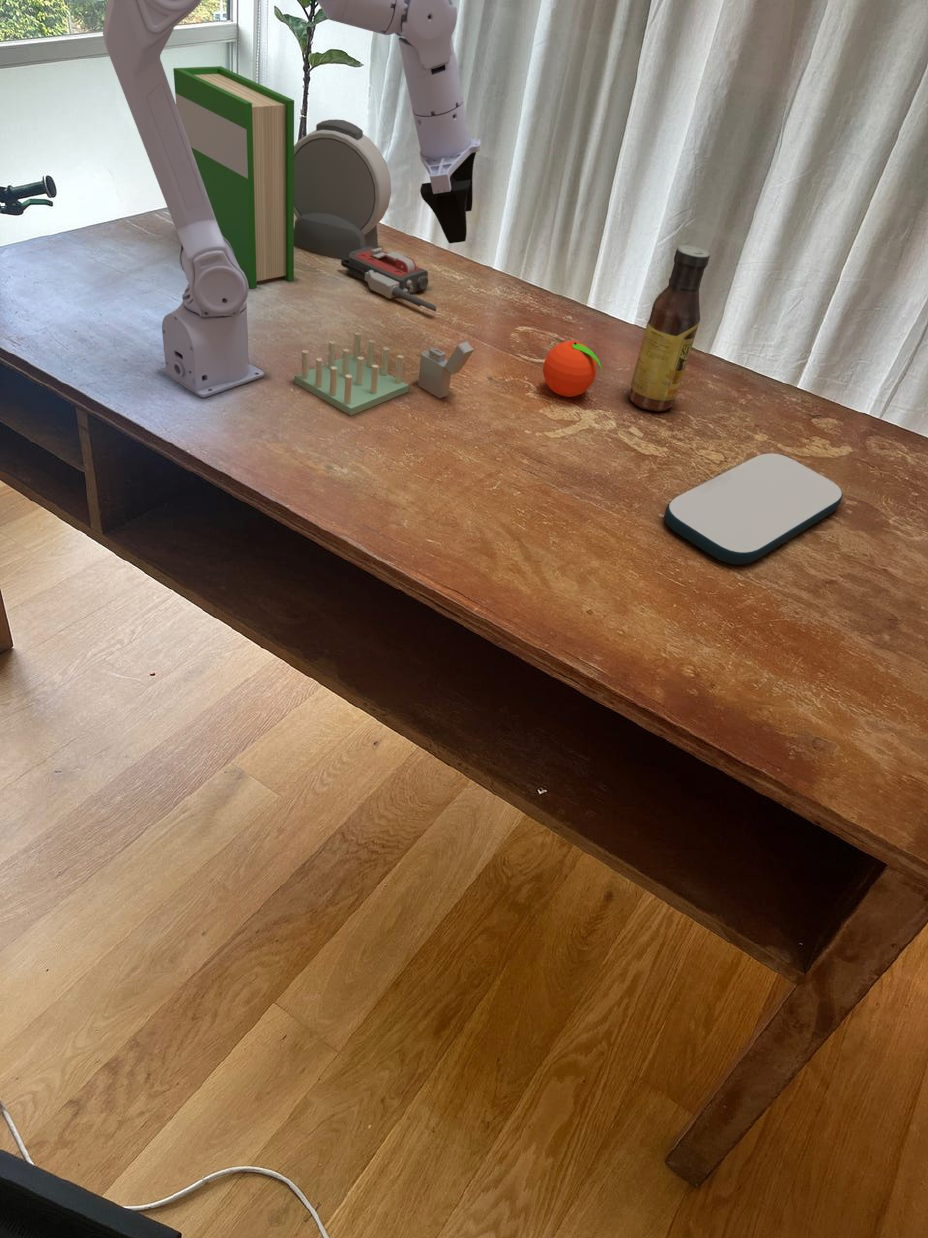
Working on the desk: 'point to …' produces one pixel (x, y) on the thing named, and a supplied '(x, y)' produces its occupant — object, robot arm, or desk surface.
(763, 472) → the external hard drive
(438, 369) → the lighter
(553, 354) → the clementine
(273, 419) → the desk surface
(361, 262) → the walkie-talkie
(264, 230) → the hardback book
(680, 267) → the sauce bottle
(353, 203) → the alarm clock
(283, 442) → the desk surface
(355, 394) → the dish rack
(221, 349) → the robot arm
